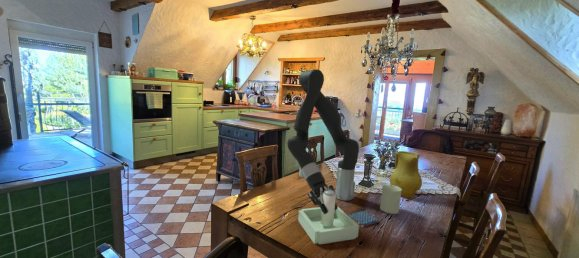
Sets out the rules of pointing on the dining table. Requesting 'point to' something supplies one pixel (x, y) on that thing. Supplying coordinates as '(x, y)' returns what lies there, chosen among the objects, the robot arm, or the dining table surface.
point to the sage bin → (327, 234)
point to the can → (390, 199)
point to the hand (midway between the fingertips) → (331, 211)
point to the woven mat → (363, 218)
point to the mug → (301, 173)
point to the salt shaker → (328, 207)
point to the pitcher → (406, 173)
